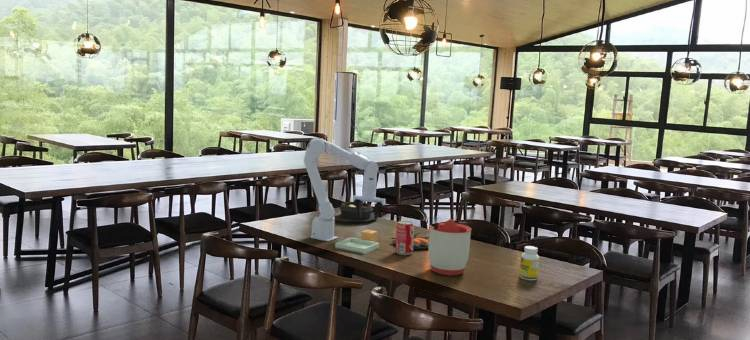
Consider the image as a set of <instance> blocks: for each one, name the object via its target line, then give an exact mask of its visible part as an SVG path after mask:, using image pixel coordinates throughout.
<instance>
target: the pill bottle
mask: <svg viewBox="0 0 750 340" xmlns="http://www.w3.org/2000/svg"><path fill="white" fill-rule="evenodd" d="M538 249H539V248H538V247H537V246H536V247H535V246H534V245H533V246H532V245H526V246H524V249H523V250H524V252H523V253H522V254H521V255H520V264H519V265H520V268H519V277H520V278H521V279H523V280H525V281H536V280H537V279H538V275H539V267H540V266H539V265H540V256H539V255H538V251H539V250H538Z"/></svg>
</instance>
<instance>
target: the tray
mask: <svg viewBox="0 0 750 340" xmlns="http://www.w3.org/2000/svg"><path fill="white" fill-rule="evenodd" d="M334 246H335V247H334V248H335V249H337V250H338V249H339V250H344V251H348V252H353V253H356V254H361V255H366V254H368V253H371V252H373V251H376V250H378V249H380V242H378V241H377V242H372V241H367V240H362V239H361V238H356V237H348V238H345V239H342V240H339V241H337V242H335V245H334Z"/></svg>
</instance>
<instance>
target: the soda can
mask: <svg viewBox="0 0 750 340" xmlns="http://www.w3.org/2000/svg"><path fill="white" fill-rule="evenodd" d="M395 231H396V232H395V233H396V234H395V238H396V239H395V240H396V244H395V253H396V254H398V255H401V256H410V255H412V254H413V252H414V250H413V240H414V239H415V238H414V237H415V236H414V235H415V226H414V222H412V221H410V220H399V221H397V224H396V230H395Z"/></svg>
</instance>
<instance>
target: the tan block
mask: <svg viewBox="0 0 750 340" xmlns="http://www.w3.org/2000/svg"><path fill="white" fill-rule="evenodd" d="M360 233H361V236H360V239H362V240H367V241H372V242H377V243H378V231H377V230H371V229H365V230H363V231H361V232H360Z"/></svg>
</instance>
